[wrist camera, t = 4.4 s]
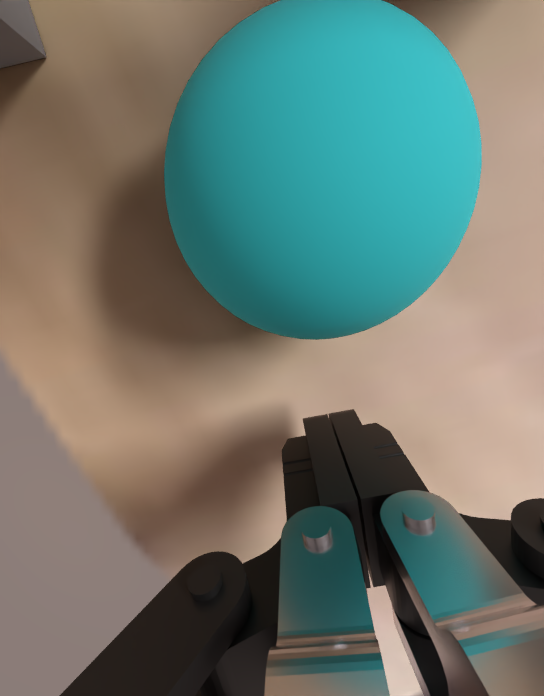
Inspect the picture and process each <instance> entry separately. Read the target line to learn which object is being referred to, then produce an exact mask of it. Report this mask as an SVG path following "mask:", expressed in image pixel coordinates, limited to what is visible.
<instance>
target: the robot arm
mask: <svg viewBox="0 0 544 696" xmlns="http://www.w3.org/2000/svg"><path fill="white" fill-rule="evenodd" d="M303 423H304V428H305V434H306V436H301V437H295V438H290V439H288V440H287V442H286V444H285V445H284V447H283V449H282V462H283V474H284V488H285V501H286V514H287V522H286V524H285V526H284V528H283V530H282V535H281V538H280V540H279V541H278V542H277V543H276V544H275V545H274V546H273V547H272V548H271V549H269V550H268V551H267V552H265V553H263V554H261V555H260V556H257V557H255V558H253V559H251V560H249V561H247V562H245V563H243V564H242V562H241V561H240V560H239V559H238V558H237V557H236V556H234V555H232V554H230V553H227V552H211V553H207V554H204V555H201V556H199V557H197V558H195V559H194V560H192V561H191V562H189V563H188V564H187V565H186V566H185V567H184V568H182V569H181V570H180V571H179V573H178V574H177V575H176V576H175V577H174V578H173V579H172V580H171V581H170V582H169V583H168V584H167V585H166V586H165V587H164V588H163V589H162V590H161V591H160V592H159V593H158V594H157V595H156V597H154V598H153V599H152V601H151V602H150V603H149V604H148V605H147V606H146V607H145V608H144V609H143V610H142V611H141V612H140V613H139V614H138V615H137V616H136V617H135V618H134V619H133V620H132V621H131V622H130V623H129V624H128V625H127V626H126V627H125V629H124V630H123V631H122V632H121V633H120V634H119V635H118V636H117V637H116V638H115V639H114V640H113V641H112V642H111V643H110V644H109V645H108V646H107V647H106V648H105V649H104V650H103V651H102V652H101V653H100V654H99V655H98V657H97V658H96V659H95V660H94V661H93V662H92V663H91V664H90V665H89V666H88V667H87V668H86V669H85V670H84V671H83V672H82V673H81V674H80V675H79V676H78V677H77V678H76V679H75V680H74V681H73V682H72V683H71V685H70V686H69V687H68V688H67V689H66V690H65V691H64V692H63V693H62V694H61V695H60V696H390V695H389V690H388V685H387V680H386V676H385V671H384V666H383V662H382V657H381V652H380V648H379V644H378V640H377V639H376V636H375V631H374V627H373V622H372V617H371V612H370V607H369V603H368V596H367V590H366V588H371V587H370V580H369V574H370V577H371V580H372V583H373V587H377V586H383V585H386V588H387V591H388V594H389V597H390V600H391V602H392V610H393V618H394V623H395V626H396V629H397V631H398V634H399V636H400V639H401V641H402V643H403V646H404V648H405V651H406V653H407V656H408V658H409V660H410V663H411V665H412V668H413V670H414V673H415V675H416V677H417V680H418V682H419V685H420V687H421V689H422V692H423V694H424V696H544V499H542V498H539V499H530V500H526V501H523V502H521V503H519V504H518V505H516V507H515V508H514V509H513V511H512V513H511V521H510V520H499V519H487V518H477V517H471V516H467V515H463V514H460V513H458V512H457V511H456V510H455V509H454V507H453V506H452V505H451V504H450V503H449V502H447V501H446V500H445V499H443V498H441V497H440V496H437V495H435V494H433V493H430V492H429V491H428V489H427V488H426V486H425V485H424V483H423V482H422V480H421V478H420V477H419V475H418V474H417V472H416V471H415V469H414V468H413V466H412V465H411V463H410V462H409V460H408V459H407V457H406V455H404V453H403V451H402V449H401V448H400V446H399V445H398V444H397V442H396V440H395V439H394V437H393V436H392V434H391V432H390V431H389V430H387V429H385V428H384V427H382V426H381V425H379V424H377V423H372V424H366V425H362V424H361V422H360V420H359V418H358V416H357V414H356V412H355V411H354V409H352V410H346V411H341V412H336V413H330V414H329V418H328V415H327V414H325V415H320V416H314V417H309V418H303ZM368 571H369V574H368Z"/></svg>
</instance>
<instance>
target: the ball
mask: <svg viewBox="0 0 544 696" xmlns="http://www.w3.org/2000/svg"><path fill="white" fill-rule="evenodd" d="M481 165H482V164H481V136H480V129H479V121H478V117H477V113H476V110H475V106H474V102H473V98H472V96H471V93H470V91H469V88H468V86H467V84H466V81H465V79H464V77H463V74H462V72H461V70H460V68H459V67H458V65H457V64H456V62H455V60H454V59H453V57H452V56H451V54H450V52H449V51H448V49H447V48H446V47H445V46H444V45H443V44H442V43H441V41H440V40H439V39H438V38H437V37H436V36H435V34H434V33H433V32H432V31H431V30H429V29H428V28H427V27H426V26H424V25H423V24H422V23H421V22H420V21H418V20H417V19H416V18H415V17H413V16H412V15H410V14H408V13H406V12H404V11H403V10H401V9H399V8H397V7H395V6H394V5H392V4H390V3H388V2H385V1H382V0H280V1H278V2H275V3H273V4H271V5H268V6H266V7H263V8H262V9H260V10H259V11H257V12H255V13H254V14H252V15H250V16H249V17H247V18H246V19H244V20H242V21H241V22H239V23H238V24H237V25H236V26H234V27H233V28H232V29H231V30H230V31H229V32H228V33H226V34H225V35H224V36H223V37H222V38H221V39H219V40H218V42H217V43H216V44H215V45H214V46H213V47H212V48H211V50H210V51H209V52H208V53H207V54H206V55H205V57H204V58H203V59H202V60H201V62H200V63H199V65H198V66H197V68H196V70H195V71H194V73H193V74H192V76H191V77H190V79H189V80H188V82H187V84H186V87H185V89H184V91H183V93H182V95H181V97H180V99H179V102H178V104H177V107H176V110H175V113H174V116H173V119H172V122H171V125H170V129H169V135H168V140H167V146H166V151H165V167H164V181H165V197H166V204H167V209H168V214H169V220H170V224H171V227H172V230H173V233H174V236H175V239H176V242H177V244H178V246H179V249H180V251H181V253H182V255H183V257H184V260H185V261H186V263H187V264H188V266H189V268H190V269H191V271H192V273H193V274H194V276H195V277H196V278H197V280H198V281H199V282H200V283H201V285H202V286H203V287H204V288H205V290H206V291H207V292H208V293H209V294H210V295H211V296H212V297H213V298H214V299H215V300H217V301H218V302H219V303H220V304H221V305H222V306H223V307H224V308H226V309H227V310H228V311H230V312H231V313H232V314H233V315H235V316H236V317H238V318H240V319H241V320H243V321H245V322H247V323H248V324H250V325H252V326H255V327H257V328H260V329H262V330H264V331H267V332H271V333H274V334H278V335H281V336H286V337H292V338H299V339H316V340H317V339H330V338H337V337H342V336H348V335H351V334H355V333H358V332H361V331H364V330H367V329H369V328H372V327H374V326H376V325H378V324H381V323H382V322H384V321H386V320H388V319H390V318H391V317H393V316H395V315H397V314H398V313H399V312H401V311H402V310H404V309H405V308H406V307H408V306H409V305H411V304H412V303H413V302H414V301H415V300H416V299H418V298H419V297H420V296H421V295H422V294H423V293H424V292H425V291H426V290H427V289H428V288H429V287H430V286H431V285H432V284H433V283H434V282H435V280H436V279H437V278H438V277H439V275H440V274H441V273H442V271H443V270H444V269H445V268H446V266H447V265H448V263H449V262H450V260H451V258H452V257H453V255H454V253H455V252H456V250H457V248H458V247H459V245H460V242H461V240H462V238H463V236H464V234H465V232H466V230H467V227H468V225H469V222H470V219H471V216H472V213H473V210H474V207H475V203H476V198H477V194H478V190H479V183H480V174H481Z"/></svg>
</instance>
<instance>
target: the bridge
mask: <svg viewBox="0 0 544 696" xmlns="http://www.w3.org/2000/svg"><path fill="white" fill-rule="evenodd" d="M41 58H46V54H45V51H44V48H43V44H42V41H41V38H40V35H39V32H38V29H37V26H36V23H35V20H34V17H33V14H32V10H31V7H30V4H29V1H28V0H0V68H3V67H8V66H12V65H16V64H20V63H25V62H29V61H33V60H37V59H41Z"/></svg>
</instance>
